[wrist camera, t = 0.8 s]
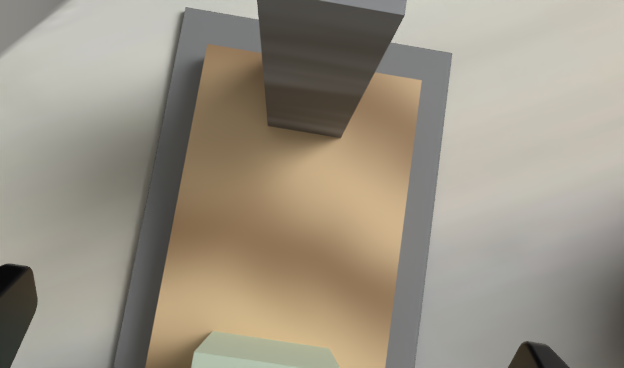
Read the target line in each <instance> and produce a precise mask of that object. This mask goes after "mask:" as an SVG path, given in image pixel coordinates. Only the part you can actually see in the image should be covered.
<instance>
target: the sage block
mask: <svg viewBox="0 0 624 368" xmlns="http://www.w3.org/2000/svg"><path fill="white" fill-rule="evenodd" d="M191 368H340V367H339V365H338V363H337V362H336V360H335V358H334V356H333V354H332V352H331V351H330V349H329V348H325V347H318V346H311V345H304V344H298V343H291V342H284V341H277V340H271V339H264V338H257V337H250V336H244V335H237V334H230V333H223V332H217V331H212V332H211V333H210V335H209V336H208V337H207V338H206V339H205V340H204V341H203V342H202V344H201V345H200V346H199V347H198V348H197V349H196V350H195V351H194V355H193V360H192V366H191Z"/></svg>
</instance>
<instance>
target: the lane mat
mask: <svg viewBox="0 0 624 368" xmlns="http://www.w3.org/2000/svg"><path fill="white" fill-rule="evenodd" d="M207 44H211V45H217V46H223V47H229V48H235V49H241V50H246V51H252V52H258V53H262V52H261V40H260V28H259V20H257V19H251V18H245V17H240V16H234V15H228V14H222V13H217V12H211V11H205V10H199V9H193V8H188V7H186V8H185V13H184V18H183V23H182V28H181V33H180V38H179V43H178V48H177V53H176V58H175V63H174V68H173V73H172V78H171V83H170V88H169V92H168V97H167V102H166V107H165V112H164V117H163V122H162V127H161V132H160V137H159V142H158V147H157V152H156V157H155V162H154V167H153V172H152V177H151V182H150V187H149V192H148V197H147V202H146V207H145V212H144V217H143V222H142V227H141V232H140V237H139V242H138V247H137V252H136V257H135V262H134V267H133V272H132V277H131V282H130V287H129V292H128V297H127V302H126V307H125V312H124V317H123V322H122V327H121V332H120V337H119V342H118V347H117V352H116V357H115V362H114V367H113V368H145V366H146V361H147V356H148V350H149V345H150V340H151V335H152V330H153V324H154V319H155V314H156V309H157V304H158V298H159V293H160V288H161V283H162V278H163V272H164V267H165V262H166V257H167V251H168V246H169V241H170V236H171V231H172V225H173V220H174V215H175V210H176V205H177V199H178V194H179V189H180V184H181V179H182V173H183V168H184V163H185V158H186V153H187V147H188V142H189V137H190V132H191V127H192V121H193V116H194V111H195V106H196V100H197V95H198V90H199V85H200V80H201V74H202V69H203V64H204V59H205V54H206V48H207ZM451 59H452V53H448V52H442V51H436V50H431V49H425V48H419V47H413V46H407V45H402V44H396V43H390V44H389V46H388V48H387V50H386V52H385V54H384V56H383V58H382V60H381V62H380V64H379V65H378V67H377V69H376V71H375V72H376V73H381V74H387V75H393V76H399V77H405V78H411V79H417V80H422V83H421V91H420V99H419V106H418V114H417V122H416V130H415V138H414V146H413V153H412V161H411V169H410V177H409V185H408V193H407V201H406V208H405V216H404V224H403V232H402V240H401V248H400V255H399V263H398V271H397V279H396V287H395V295H394V302H393V310H392V318H391V326H390V334H389V342H388V349H387V357H386V365H385V368H415V360H416V351H417V343H418V335H419V326H420V318H421V310H422V301H423V293H424V285H425V276H426V268H427V260H428V251H429V243H430V234H431V226H432V218H433V209H434V201H435V193H436V184H437V176H438V168H439V159H440V151H441V143H442V134H443V126H444V117H445V109H446V101H447V92H448V84H449V76H450V67H451Z"/></svg>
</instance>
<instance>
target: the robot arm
mask: <svg viewBox="0 0 624 368" xmlns="http://www.w3.org/2000/svg"><path fill="white" fill-rule="evenodd" d="M36 308H37V293H36V287H35V281H34V276H33V271H32V269H31V268H30V267H28V266H23V265H17V264H4V265H2V266H0V368H10V367H11V365H12V362H13V360H14V358H15V356H16V354H17V351H18V349H19V347H20V345H21V342H22V340H23V338H24V336H25V334H26V331H27V329H28V327H29V325H30V323H31V320H32V318H33V316H34V314H35V311H36ZM508 368H569V367H568V366H567V365H566V363H565V362H564V361H563V360H562V359H561V358H560V357H559V356H558V355H557V354H556V353H555V352H554V351H553V350H552V349H551V348H550V347H549V346H547V345H545V344H542V343H535V342H529V341H526V342H523V343H522V344H521V345H520V347H519V349H518V350H517V352H516V354H515V356H514V358H513V360H512V361H511V363H510V365H509V367H508Z"/></svg>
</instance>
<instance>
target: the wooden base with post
mask: <svg viewBox="0 0 624 368" xmlns="http://www.w3.org/2000/svg"><path fill="white" fill-rule="evenodd" d="M406 1H407V0H257V4H258V16H259V28H260V40H261V52H262V53H258V52H252V51H246V50H241V49H235V48H229V47H223V46H217V45H211V44H207V48H206V54H205V59H204V64H203V69H202V74H201V80H200V85H199V90H198V95H197V100H196V106H195V111H194V116H193V121H192V127H191V132H190V137H189V142H188V147H187V153H186V158H185V163H184V168H183V173H182V179H181V184H180V189H179V194H178V199H177V205H176V210H175V215H174V220H173V225H172V231H171V236H170V241H169V246H168V251H167V257H166V262H165V267H164V272H163V278H162V283H161V288H160V293H159V298H158V304H157V309H156V314H155V319H154V324H153V330H152V335H151V340H150V345H149V350H148V356H147V361H146V366H145V368H191V366H192V360H193V355H194V351H195V350H196V349H197V348H198V347H199V346H200V345H201V344H202V342H203V341H204V340H205V339H206V338H207V337H208V336H209V335H210V333H211V332H212V331H217V332H223V333H230V334H237V335H244V336H250V337H257V338H264V339H271V340H277V341H284V342H291V343H298V344H304V345H311V346H318V347H325V348H329V349H330V351H331V352H332V354H333V356H334V358H335V360H336V362H337V363H338V365H339V367H340V368H385V365H386V357H387V349H388V342H389V334H390V326H391V318H392V310H393V302H394V295H395V287H396V279H397V271H398V263H399V255H400V248H401V240H402V232H403V224H404V216H405V208H406V201H407V193H408V185H409V177H410V169H411V161H412V153H413V146H414V138H415V130H416V122H417V114H418V106H419V99H420V91H421V83H422V80H417V79H411V78H405V77H399V76H393V75H387V74H381V73H376V72H375V71H376V69H377V67H378V65H379V64H380V62H381V60H382V58H383V56H384V54H385V52H386V50H387V48H388V46H389V44H390V42H391V40H392V38H393V37H394V35H395V33H396V31H397V29H398V27H399V25H400V23H401V21H402V19H403V17H404V15H405V8H406Z"/></svg>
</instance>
